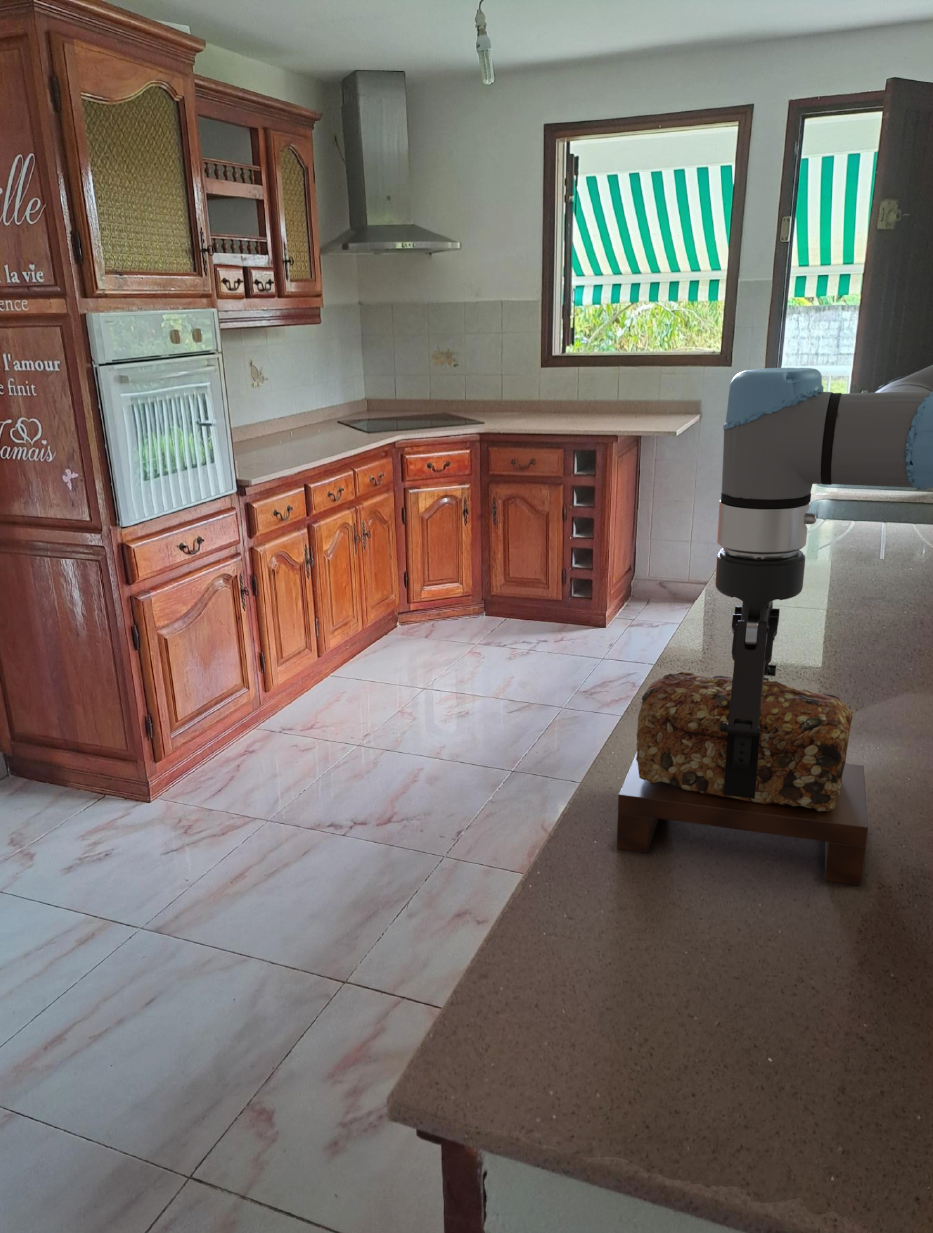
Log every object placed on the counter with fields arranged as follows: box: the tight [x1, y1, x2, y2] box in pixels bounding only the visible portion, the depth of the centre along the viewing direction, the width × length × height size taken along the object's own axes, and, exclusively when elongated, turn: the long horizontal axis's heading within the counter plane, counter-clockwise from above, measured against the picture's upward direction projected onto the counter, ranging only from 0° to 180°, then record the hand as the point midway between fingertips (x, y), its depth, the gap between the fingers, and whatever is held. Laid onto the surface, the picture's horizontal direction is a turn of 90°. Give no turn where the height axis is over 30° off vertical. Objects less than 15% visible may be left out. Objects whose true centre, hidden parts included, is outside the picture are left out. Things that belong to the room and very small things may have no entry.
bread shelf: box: [616, 751, 869, 887], centre depth 95 cm, size 22×13×6 cm, turn 69°
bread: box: [636, 671, 854, 811], centre depth 92 cm, size 19×11×10 cm, turn 64°
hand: (744, 764), depth 93 cm, fingers open, 13 cm apart
